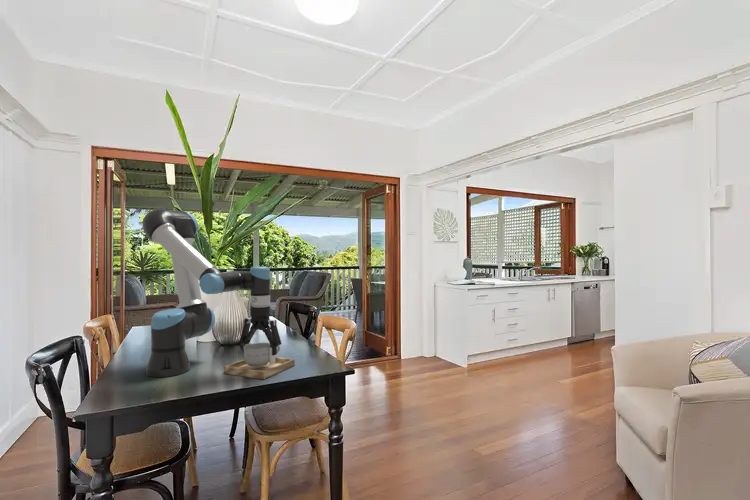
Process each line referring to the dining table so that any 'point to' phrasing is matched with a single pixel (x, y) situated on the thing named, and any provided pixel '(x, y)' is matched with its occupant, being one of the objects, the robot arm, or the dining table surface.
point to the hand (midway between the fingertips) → (260, 361)
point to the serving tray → (259, 368)
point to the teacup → (257, 354)
